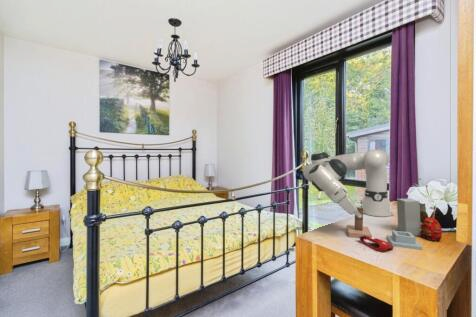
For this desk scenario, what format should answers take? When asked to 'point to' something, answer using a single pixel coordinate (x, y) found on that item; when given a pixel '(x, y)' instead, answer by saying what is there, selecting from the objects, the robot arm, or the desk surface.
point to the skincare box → (409, 216)
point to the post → (359, 220)
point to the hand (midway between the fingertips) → (360, 215)
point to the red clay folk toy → (431, 228)
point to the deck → (357, 231)
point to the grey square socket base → (403, 240)
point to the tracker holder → (381, 243)
